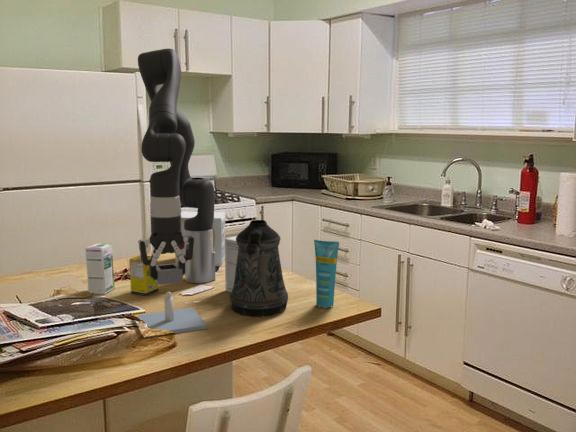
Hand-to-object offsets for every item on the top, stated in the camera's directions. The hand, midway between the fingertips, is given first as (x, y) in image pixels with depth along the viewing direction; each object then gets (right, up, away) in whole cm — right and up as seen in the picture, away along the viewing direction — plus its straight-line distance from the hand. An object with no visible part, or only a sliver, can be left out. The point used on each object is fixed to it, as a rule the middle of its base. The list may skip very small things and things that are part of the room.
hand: (167, 277), depth 139 cm
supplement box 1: (-13, -8, +28) cm, 32 cm away
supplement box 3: (+18, -8, +30) cm, 36 cm away
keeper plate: (0, -12, +2) cm, 12 cm away
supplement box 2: (-1, -1, +63) cm, 64 cm away
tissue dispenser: (0, -1, 0) cm, 1 cm away
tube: (+42, -10, +17) cm, 46 cm away
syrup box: (-27, -8, +28) cm, 39 cm away
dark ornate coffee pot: (+23, -11, +14) cm, 29 cm away
